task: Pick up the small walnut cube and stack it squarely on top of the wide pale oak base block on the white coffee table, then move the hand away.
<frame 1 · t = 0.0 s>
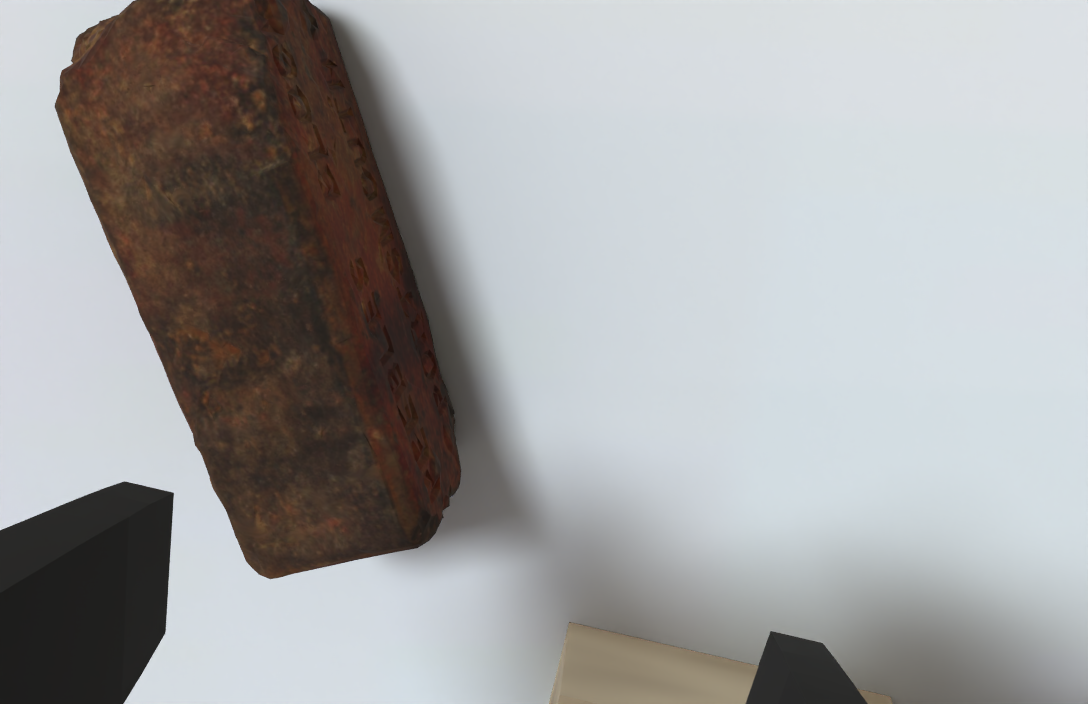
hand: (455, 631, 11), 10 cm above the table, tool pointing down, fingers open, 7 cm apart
brick: (327, 249, 21), on the table
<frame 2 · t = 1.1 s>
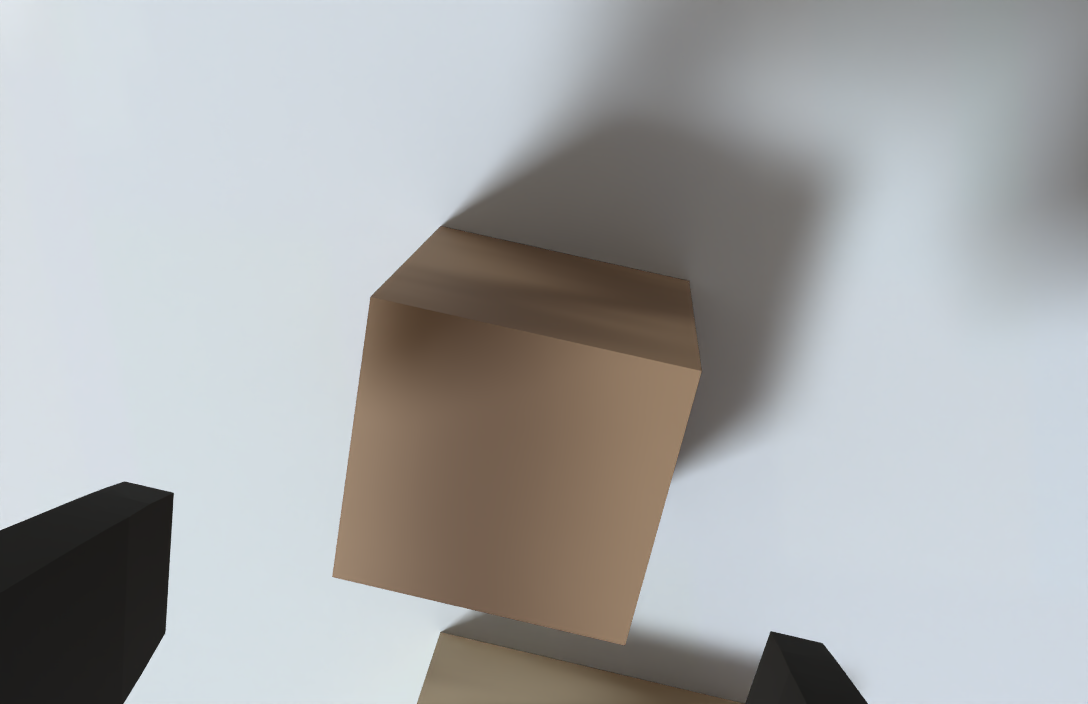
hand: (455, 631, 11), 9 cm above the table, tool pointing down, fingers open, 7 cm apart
walnut cube: (540, 367, 19), on the table
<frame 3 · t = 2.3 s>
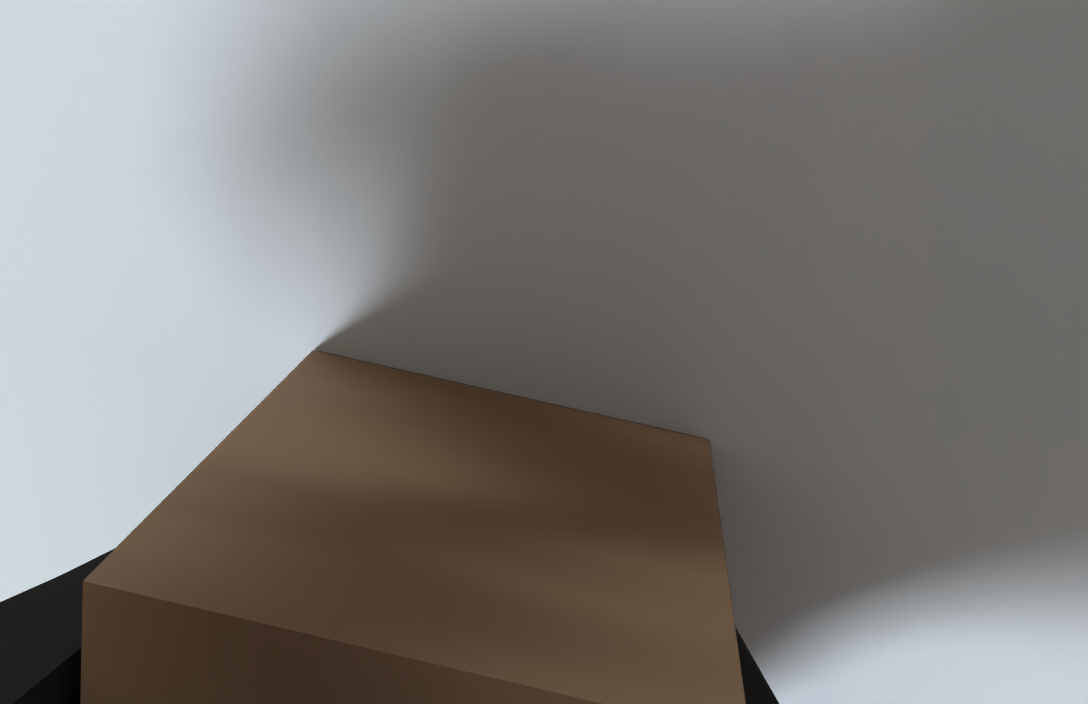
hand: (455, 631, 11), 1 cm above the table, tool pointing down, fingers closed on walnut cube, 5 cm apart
walnut cube: (475, 564, 12), on the table, touching gripper
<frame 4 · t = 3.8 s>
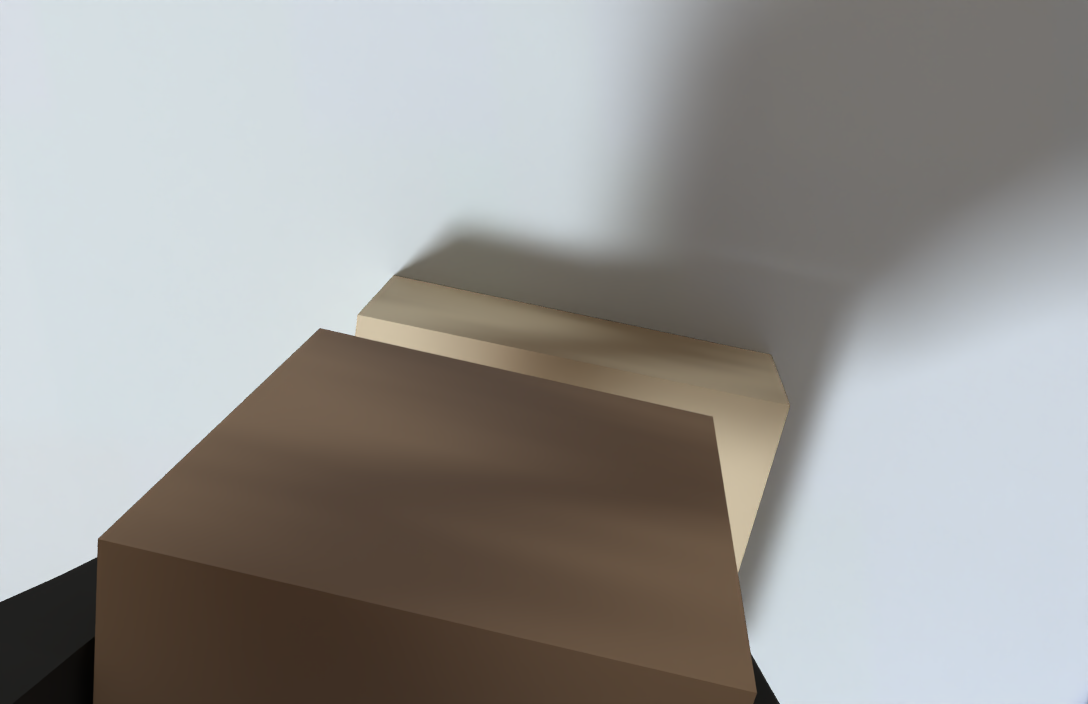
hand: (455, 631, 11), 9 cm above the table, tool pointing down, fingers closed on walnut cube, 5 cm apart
oak base: (547, 473, 21), on the table
walnut cube: (480, 542, 12), point 8 cm above the table, touching gripper
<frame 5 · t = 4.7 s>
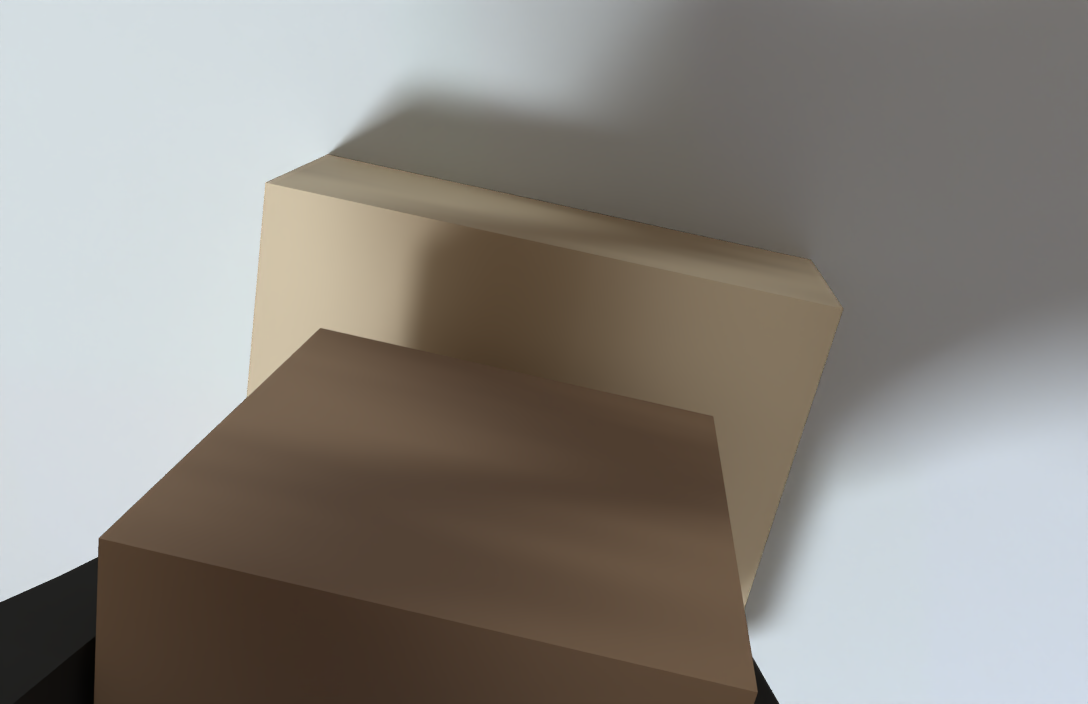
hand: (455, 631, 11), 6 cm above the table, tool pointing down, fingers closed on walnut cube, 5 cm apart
oak base: (524, 417, 17), on the table
walnut cube: (481, 541, 12), point 4 cm above the table, touching gripper
when the fingers open (5 cm above the table, at t = 5.3 s): walnut cube drops 1 cm, point 3 cm above the table.
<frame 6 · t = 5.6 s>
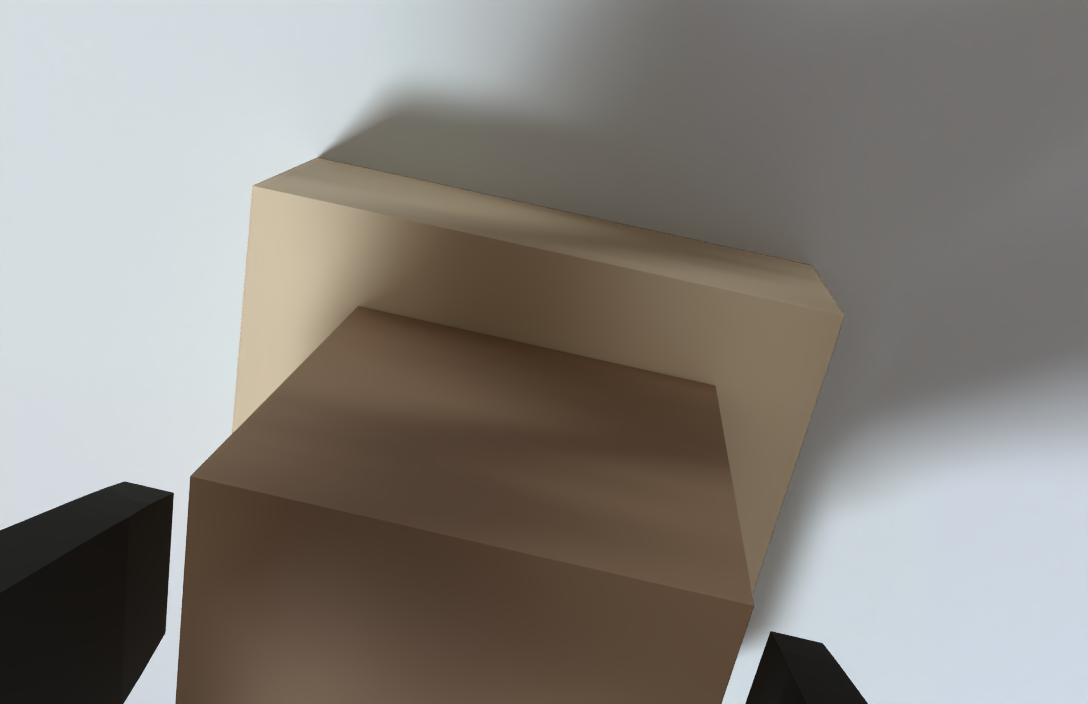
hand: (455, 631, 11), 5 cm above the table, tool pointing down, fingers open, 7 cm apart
oak base: (519, 424, 16), on the table
walnut cube: (503, 502, 14), point 3 cm above the table
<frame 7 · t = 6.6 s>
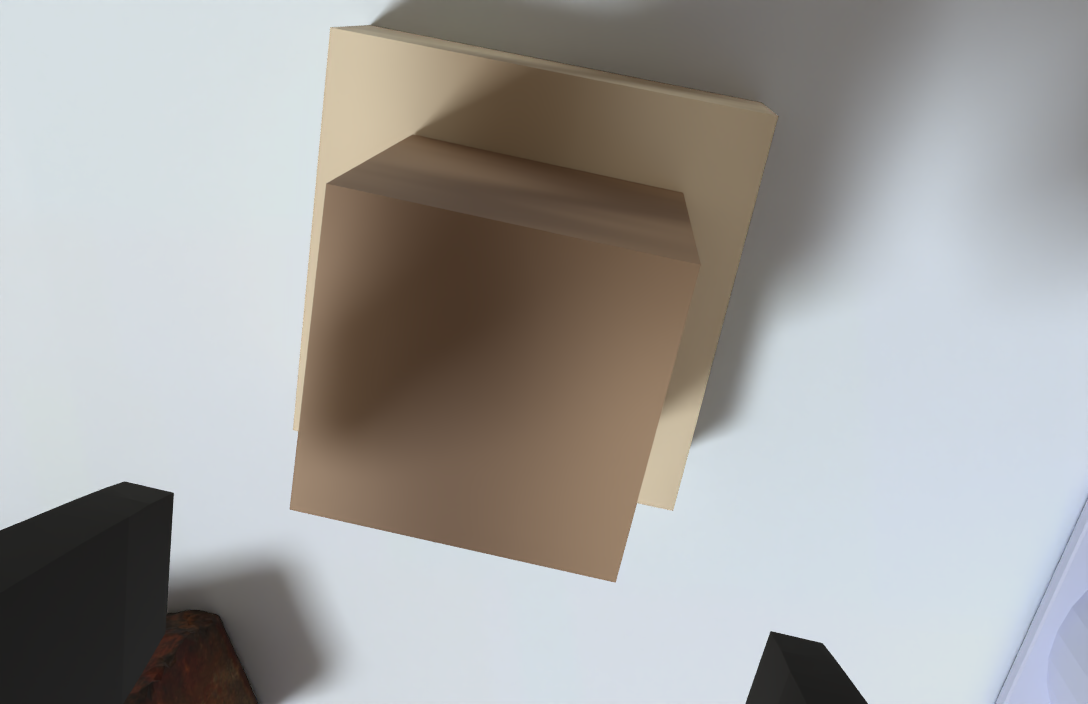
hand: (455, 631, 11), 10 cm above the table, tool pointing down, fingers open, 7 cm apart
oak base: (532, 248, 20), on the table
brick: (78, 677, 26), on the table
walnut cube: (521, 293, 18), point 3 cm above the table
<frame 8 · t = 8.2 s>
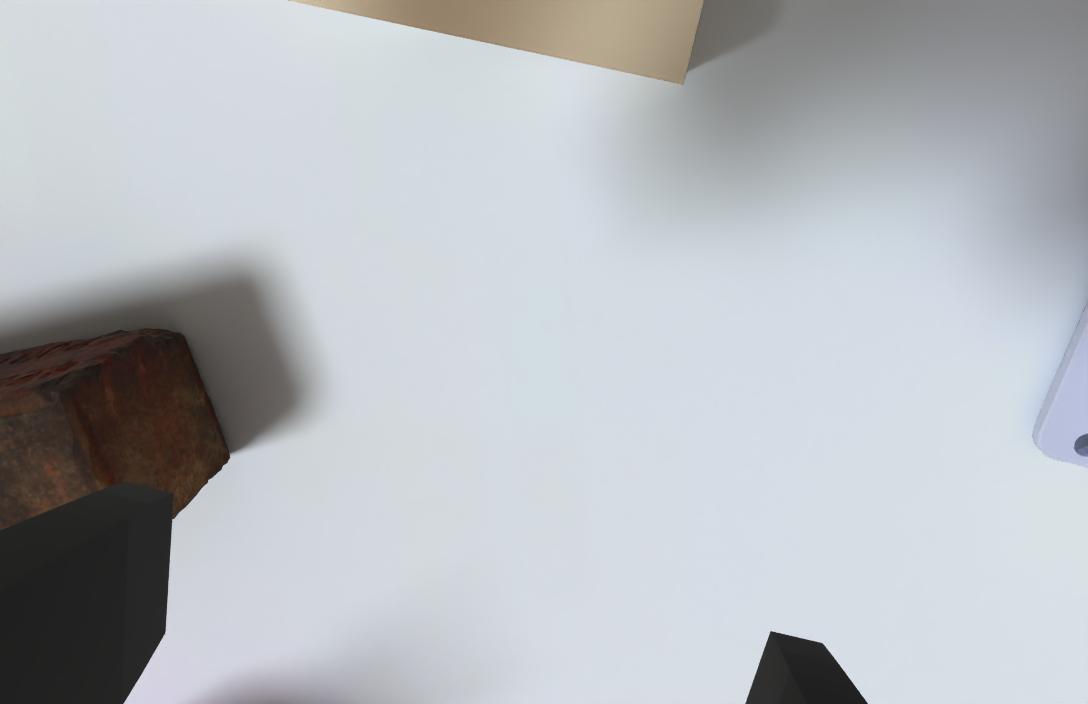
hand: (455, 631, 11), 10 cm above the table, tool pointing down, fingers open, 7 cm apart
brick: (31, 419, 24), on the table
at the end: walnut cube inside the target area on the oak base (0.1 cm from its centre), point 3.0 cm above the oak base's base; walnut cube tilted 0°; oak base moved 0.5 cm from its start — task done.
